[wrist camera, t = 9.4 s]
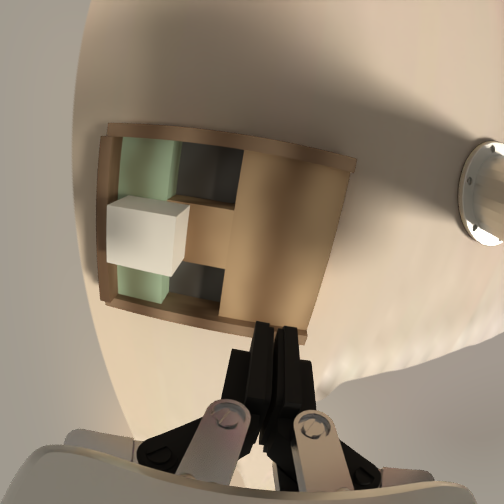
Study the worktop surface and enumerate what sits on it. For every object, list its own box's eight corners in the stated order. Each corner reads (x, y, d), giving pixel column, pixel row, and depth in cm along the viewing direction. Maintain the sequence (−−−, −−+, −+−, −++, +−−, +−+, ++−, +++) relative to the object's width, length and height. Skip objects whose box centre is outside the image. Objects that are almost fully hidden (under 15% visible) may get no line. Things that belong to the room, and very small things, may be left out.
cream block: (190, 205, 24) (176, 216, 21) (184, 257, 26) (171, 276, 23) (128, 195, 24) (107, 205, 21) (126, 245, 26) (106, 262, 22)
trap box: (344, 156, 25) (360, 159, 20) (300, 322, 32) (305, 351, 27) (128, 124, 25) (102, 122, 20) (120, 287, 31) (101, 309, 27)
